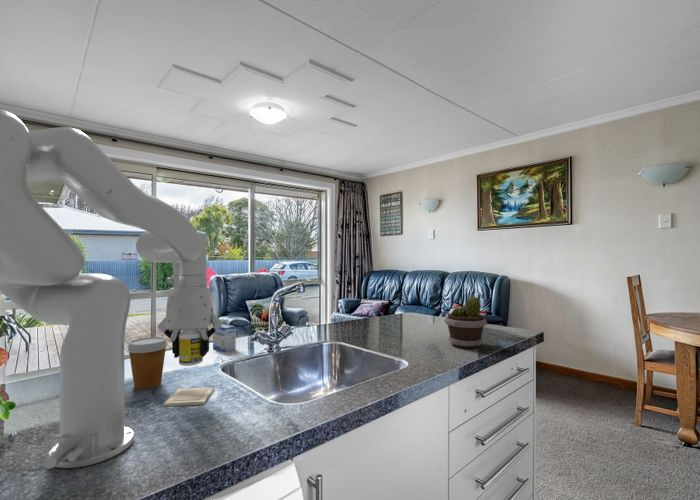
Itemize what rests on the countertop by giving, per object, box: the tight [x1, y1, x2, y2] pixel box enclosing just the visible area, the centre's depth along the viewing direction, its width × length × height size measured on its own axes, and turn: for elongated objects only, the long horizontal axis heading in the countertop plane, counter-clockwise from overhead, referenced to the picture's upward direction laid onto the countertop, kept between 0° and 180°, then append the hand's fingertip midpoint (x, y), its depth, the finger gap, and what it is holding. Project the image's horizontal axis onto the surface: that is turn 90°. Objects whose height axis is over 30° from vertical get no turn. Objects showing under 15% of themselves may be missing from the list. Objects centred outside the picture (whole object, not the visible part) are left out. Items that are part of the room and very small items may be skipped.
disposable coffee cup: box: [126, 336, 168, 391], centre depth 97 cm, size 10×10×12 cm
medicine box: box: [212, 323, 237, 353], centre depth 133 cm, size 8×4×9 cm, turn 55°
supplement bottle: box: [178, 329, 204, 367], centre depth 89 cm, size 5×5×10 cm
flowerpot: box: [443, 293, 488, 349], centre depth 136 cm, size 14×15×20 cm
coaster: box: [163, 387, 215, 407], centre depth 88 cm, size 9×9×1 cm
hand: (191, 354), depth 89 cm, fingers closed on supplement bottle, 5 cm apart
